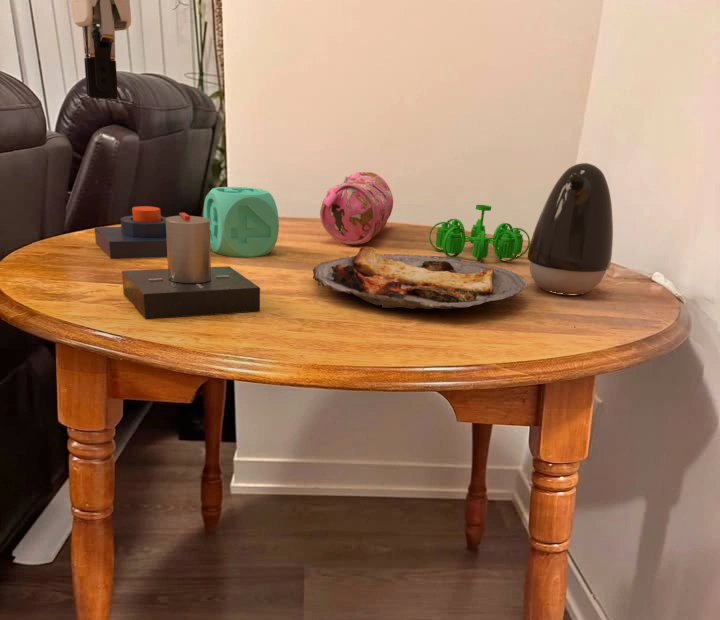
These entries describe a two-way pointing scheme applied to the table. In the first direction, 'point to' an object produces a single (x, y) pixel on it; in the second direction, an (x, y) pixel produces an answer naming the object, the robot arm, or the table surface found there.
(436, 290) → the food plate
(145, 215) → the button
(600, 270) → the black egg-shaped diffuser
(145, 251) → the button box
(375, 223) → the pencil case
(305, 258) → the table surface
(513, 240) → the chandelier
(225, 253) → the decorative dice
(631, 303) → the table surface
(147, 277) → the knob console
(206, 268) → the knob
